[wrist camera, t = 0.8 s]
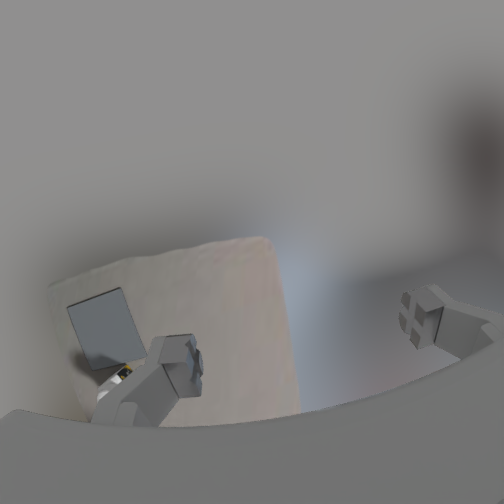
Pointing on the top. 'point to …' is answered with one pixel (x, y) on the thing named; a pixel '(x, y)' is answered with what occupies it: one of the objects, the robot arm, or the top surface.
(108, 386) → the medicine bottle
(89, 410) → the top surface
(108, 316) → the dark rubber mat
